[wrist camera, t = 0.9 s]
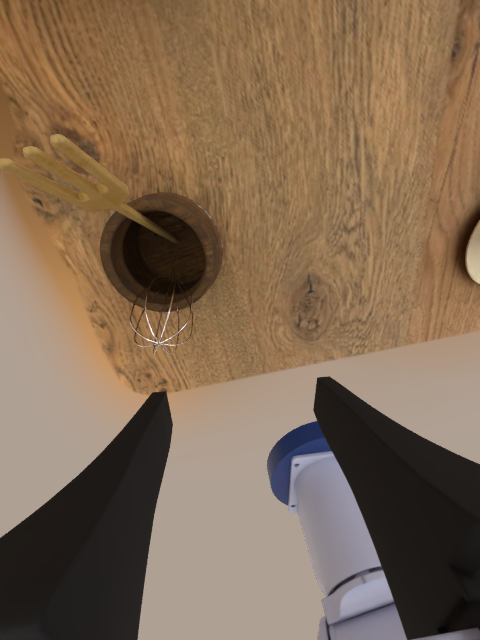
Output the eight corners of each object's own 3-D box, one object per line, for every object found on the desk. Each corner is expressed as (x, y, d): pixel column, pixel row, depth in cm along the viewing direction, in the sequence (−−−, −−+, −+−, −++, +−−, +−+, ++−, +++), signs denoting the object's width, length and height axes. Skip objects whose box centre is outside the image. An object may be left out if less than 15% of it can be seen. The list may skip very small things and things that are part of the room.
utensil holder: (162, 296, 18) (84, 414, 7) (117, 212, 16) (-105, 203, 5) (233, 268, 18) (262, 349, 7) (199, 178, 15) (161, 85, 4)
